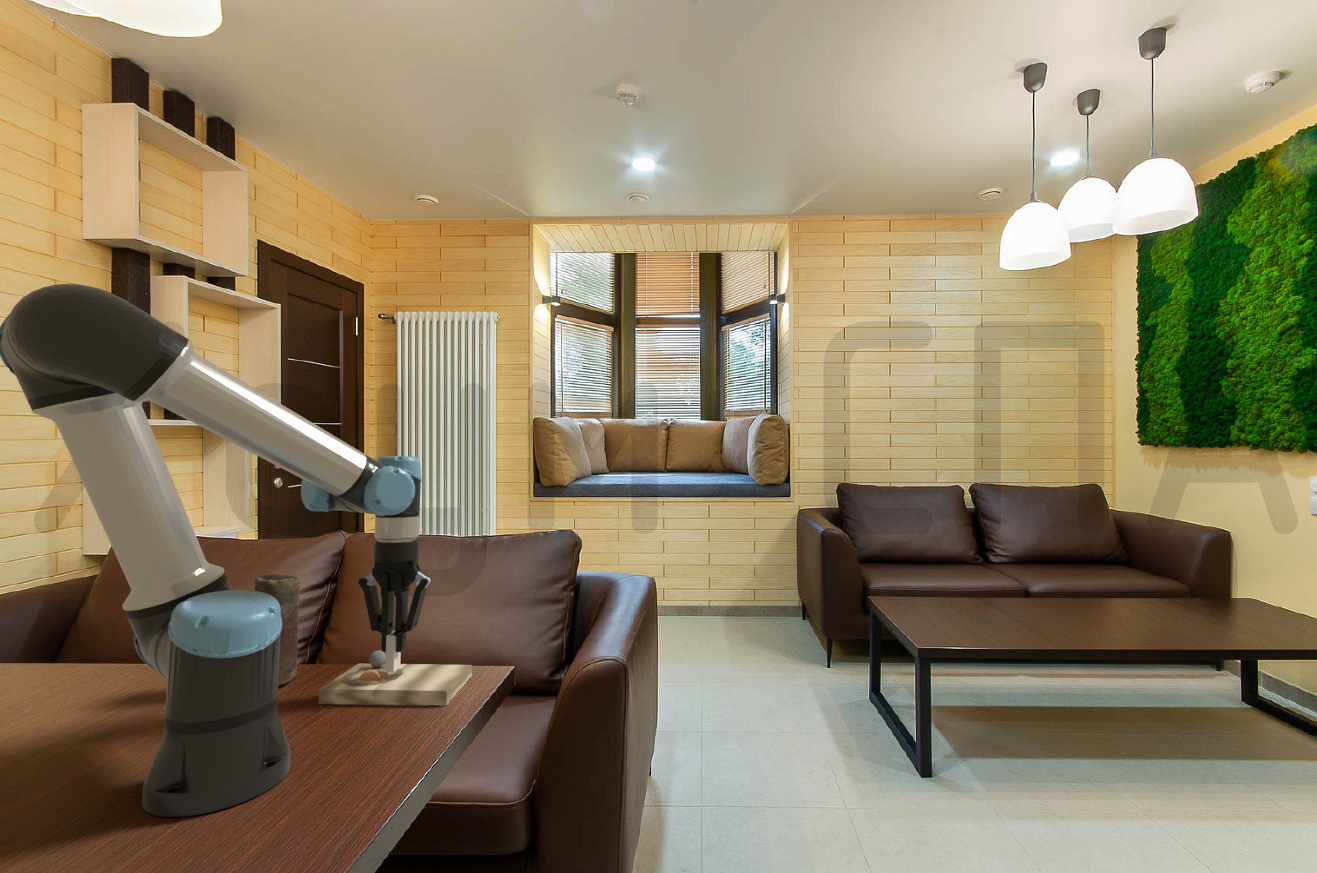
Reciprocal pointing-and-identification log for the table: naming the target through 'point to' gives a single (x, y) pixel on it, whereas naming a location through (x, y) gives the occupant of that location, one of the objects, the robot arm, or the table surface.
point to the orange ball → (369, 675)
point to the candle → (284, 619)
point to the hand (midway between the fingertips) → (392, 669)
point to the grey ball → (377, 658)
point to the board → (397, 685)
